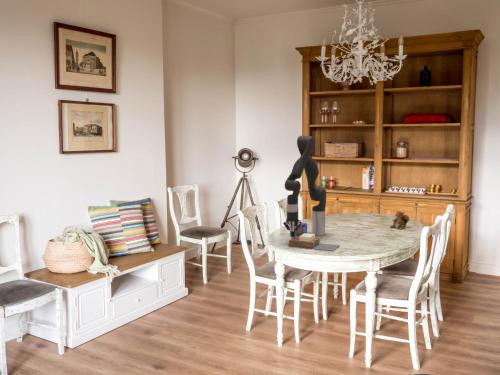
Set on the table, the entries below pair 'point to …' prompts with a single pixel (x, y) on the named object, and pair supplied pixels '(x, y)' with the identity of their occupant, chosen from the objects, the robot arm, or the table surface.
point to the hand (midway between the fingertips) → (292, 236)
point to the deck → (303, 243)
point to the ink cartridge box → (301, 229)
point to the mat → (326, 247)
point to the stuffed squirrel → (400, 220)
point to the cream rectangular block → (307, 237)
